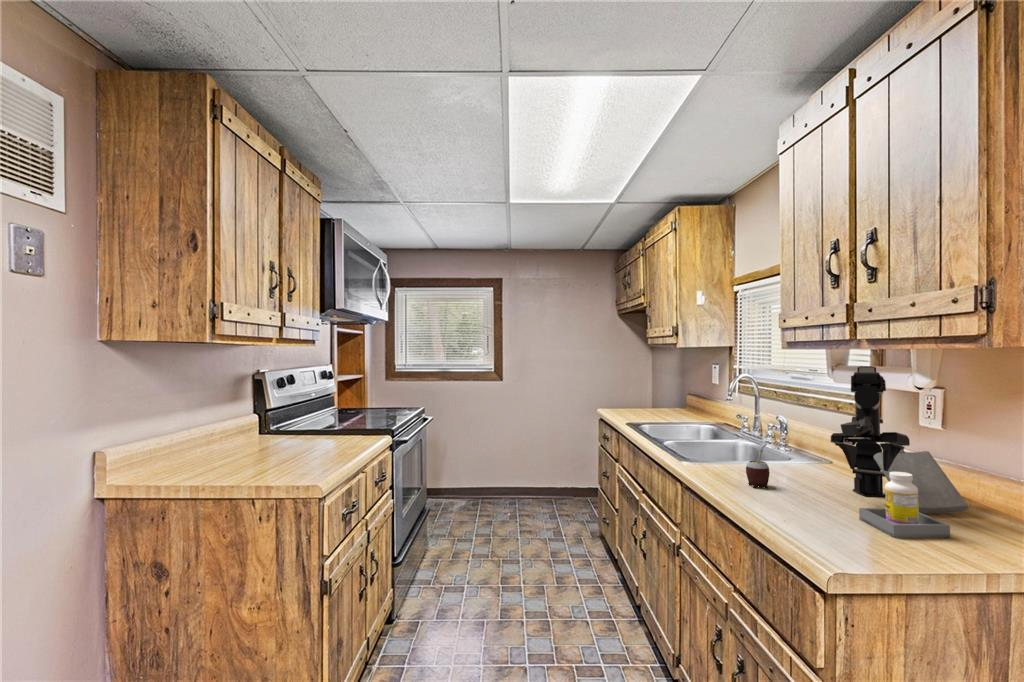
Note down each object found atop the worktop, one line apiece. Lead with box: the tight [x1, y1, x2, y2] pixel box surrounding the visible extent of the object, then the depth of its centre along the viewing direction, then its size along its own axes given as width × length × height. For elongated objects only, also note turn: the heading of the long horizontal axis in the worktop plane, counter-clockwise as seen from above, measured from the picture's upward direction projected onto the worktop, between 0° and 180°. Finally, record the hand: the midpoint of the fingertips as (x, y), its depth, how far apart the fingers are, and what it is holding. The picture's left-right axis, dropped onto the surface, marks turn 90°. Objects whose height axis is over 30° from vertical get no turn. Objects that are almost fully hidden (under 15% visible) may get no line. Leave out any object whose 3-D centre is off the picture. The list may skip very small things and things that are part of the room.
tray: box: [858, 507, 951, 539], centre depth 128 cm, size 13×13×3 cm
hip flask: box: [873, 448, 970, 514], centre depth 145 cm, size 16×4×20 cm
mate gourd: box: [745, 443, 770, 489], centre depth 167 cm, size 8×8×15 cm
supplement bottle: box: [884, 472, 919, 524], centre depth 129 cm, size 7×7×13 cm
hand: (868, 470), depth 142 cm, fingers open, 9 cm apart
